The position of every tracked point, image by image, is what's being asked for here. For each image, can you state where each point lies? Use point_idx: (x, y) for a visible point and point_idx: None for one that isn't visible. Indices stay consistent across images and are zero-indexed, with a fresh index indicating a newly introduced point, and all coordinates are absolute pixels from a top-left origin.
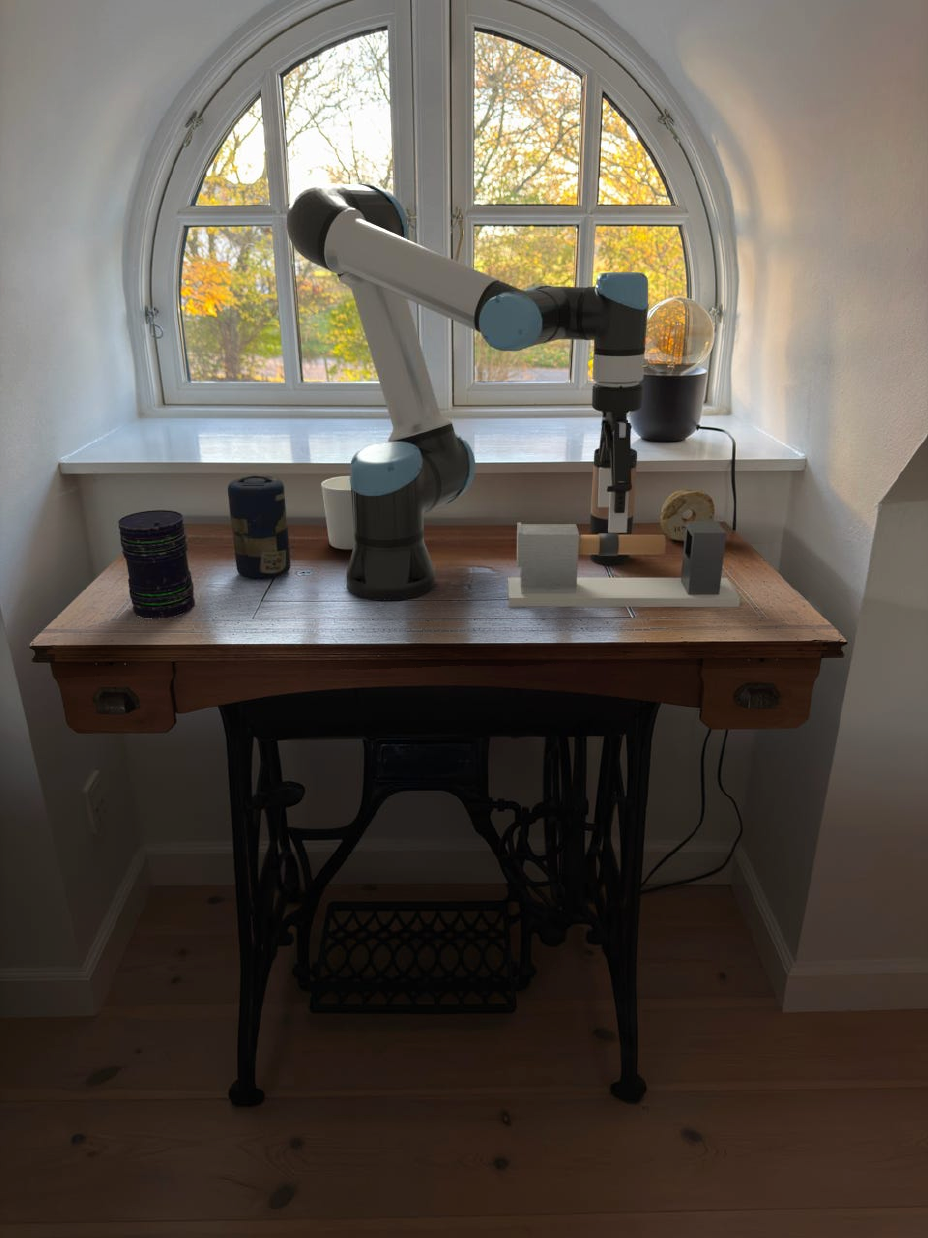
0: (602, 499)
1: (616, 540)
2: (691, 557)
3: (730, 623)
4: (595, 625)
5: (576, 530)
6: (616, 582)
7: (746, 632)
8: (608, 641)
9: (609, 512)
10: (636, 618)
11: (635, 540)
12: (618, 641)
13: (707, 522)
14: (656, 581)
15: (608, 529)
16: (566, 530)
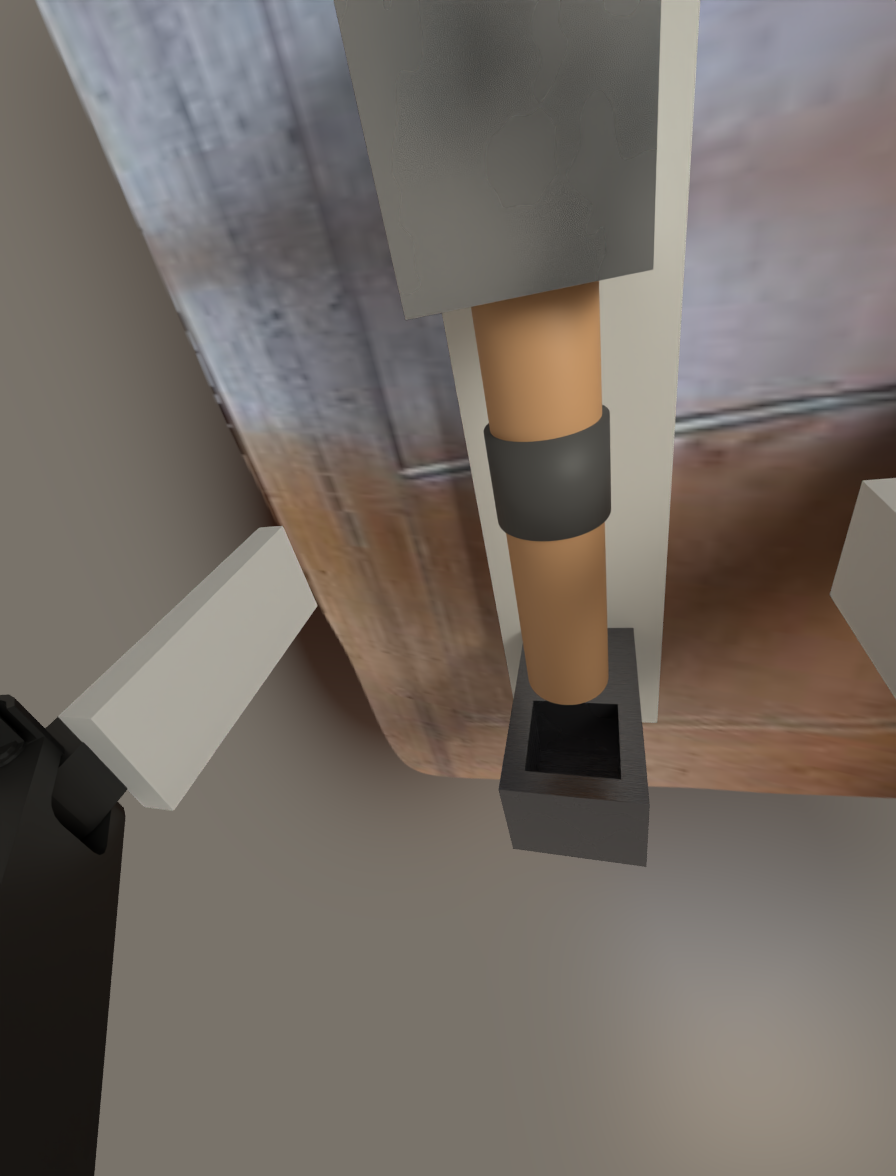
0: (882, 544)
1: (505, 523)
2: (516, 712)
3: (426, 666)
4: (313, 362)
5: (487, 290)
6: (618, 439)
7: (390, 680)
8: (229, 404)
9: (194, 596)
10: (399, 483)
11: (521, 599)
12: (242, 431)
13: (628, 844)
14: (629, 567)
15: (266, 533)
16: (477, 196)
